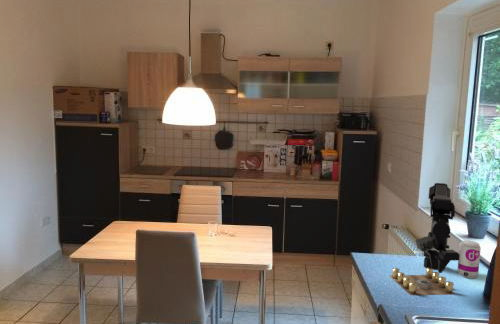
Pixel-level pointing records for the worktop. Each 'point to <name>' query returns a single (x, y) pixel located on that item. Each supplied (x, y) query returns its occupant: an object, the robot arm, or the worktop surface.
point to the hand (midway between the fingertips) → (436, 270)
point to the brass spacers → (429, 275)
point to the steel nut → (423, 284)
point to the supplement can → (469, 259)
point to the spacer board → (433, 291)
